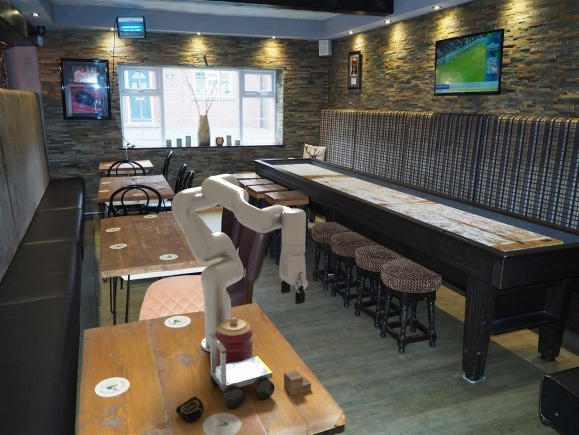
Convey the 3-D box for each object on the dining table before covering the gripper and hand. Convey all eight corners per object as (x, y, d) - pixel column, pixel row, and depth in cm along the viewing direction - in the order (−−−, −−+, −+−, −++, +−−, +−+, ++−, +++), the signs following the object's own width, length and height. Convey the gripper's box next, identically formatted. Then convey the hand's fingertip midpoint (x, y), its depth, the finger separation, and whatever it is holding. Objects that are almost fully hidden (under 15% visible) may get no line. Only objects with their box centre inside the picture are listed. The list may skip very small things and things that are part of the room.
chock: (283, 387, 153) (284, 372, 152) (303, 382, 156) (303, 367, 155) (291, 396, 149) (291, 380, 147) (310, 390, 152) (311, 374, 150)
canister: (222, 353, 173) (221, 308, 169) (257, 357, 171) (257, 311, 167) (210, 372, 160) (208, 324, 156) (247, 377, 158) (247, 328, 154)
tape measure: (198, 402, 142) (195, 392, 141) (209, 414, 137) (206, 405, 136) (177, 415, 139) (174, 406, 137) (187, 428, 134) (184, 418, 132)
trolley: (208, 386, 152) (207, 331, 148) (255, 373, 160) (255, 320, 155) (224, 411, 140) (223, 352, 136) (274, 396, 148) (274, 339, 143)
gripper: (270, 242, 158) (270, 290, 162) (296, 256, 144) (295, 309, 147) (291, 239, 162) (290, 287, 166) (317, 253, 147) (316, 305, 151)
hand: (292, 297), depth 157 cm, fingers open, 9 cm apart
